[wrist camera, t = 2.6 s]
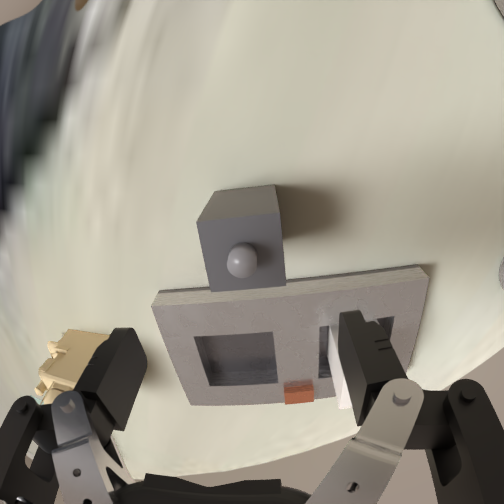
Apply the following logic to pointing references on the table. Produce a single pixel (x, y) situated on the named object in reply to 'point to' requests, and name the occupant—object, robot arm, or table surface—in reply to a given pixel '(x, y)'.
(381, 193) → the table surface
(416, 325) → the socket plate
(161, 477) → the robot arm
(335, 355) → the white plug
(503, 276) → the coffee cup
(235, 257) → the grey plug
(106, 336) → the robot
